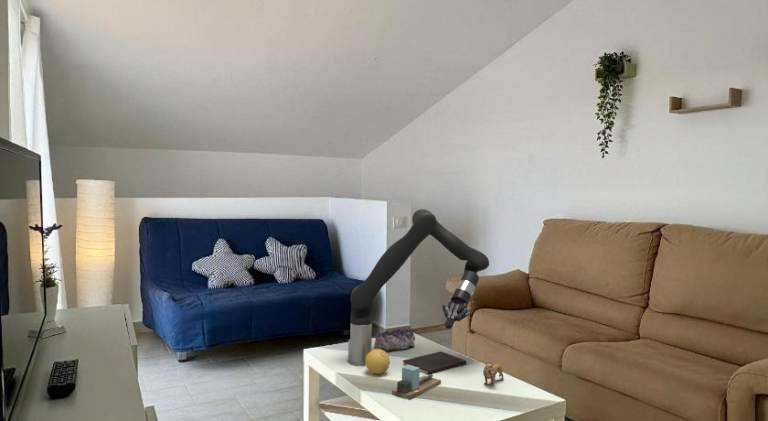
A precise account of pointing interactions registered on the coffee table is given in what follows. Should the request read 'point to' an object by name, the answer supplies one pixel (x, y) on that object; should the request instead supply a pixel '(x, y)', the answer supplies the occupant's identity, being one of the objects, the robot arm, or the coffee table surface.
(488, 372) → the lion figurine
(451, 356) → the hardcover book
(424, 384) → the rail
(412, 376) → the pale blue squarish block
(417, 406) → the coffee table surface
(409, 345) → the geode
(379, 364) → the stress ball
